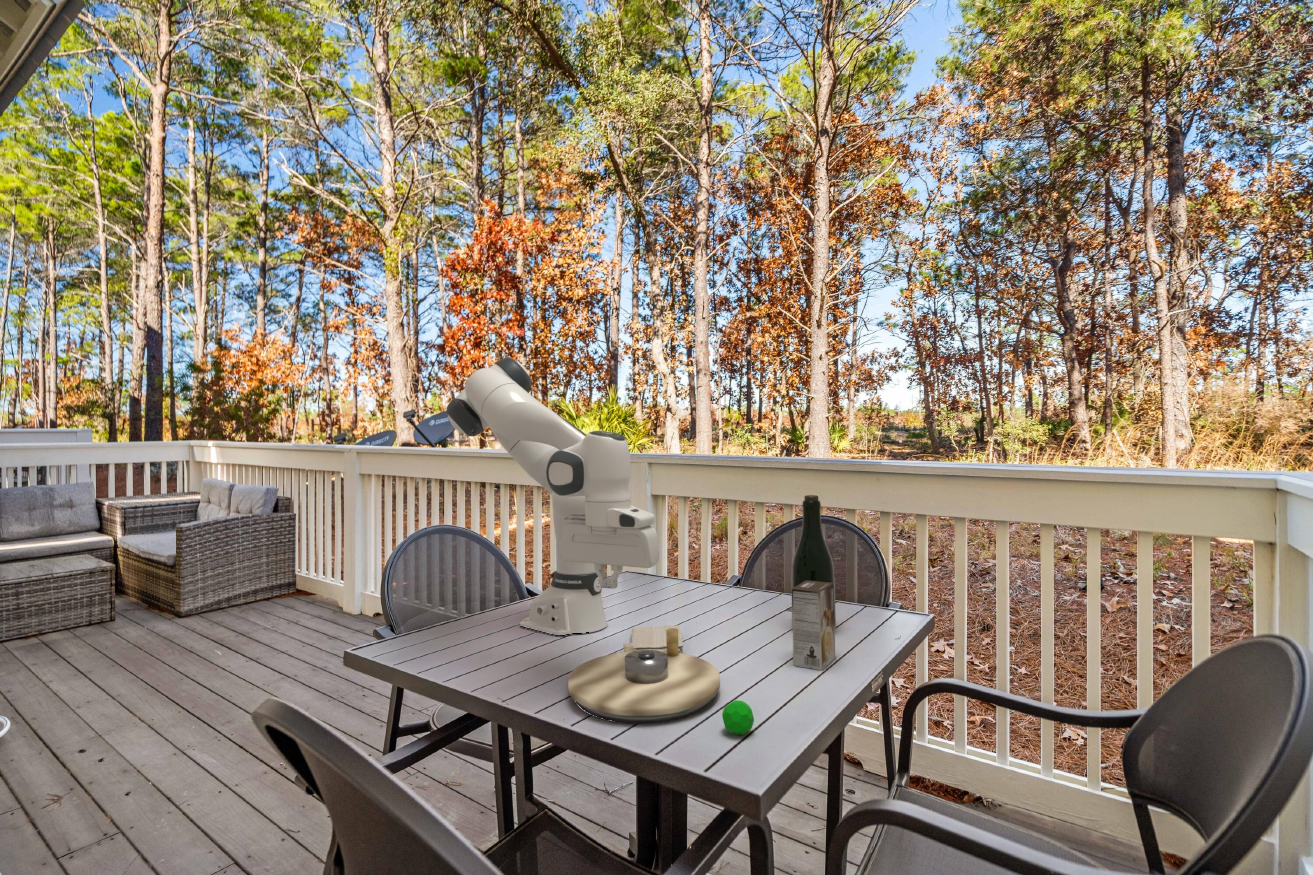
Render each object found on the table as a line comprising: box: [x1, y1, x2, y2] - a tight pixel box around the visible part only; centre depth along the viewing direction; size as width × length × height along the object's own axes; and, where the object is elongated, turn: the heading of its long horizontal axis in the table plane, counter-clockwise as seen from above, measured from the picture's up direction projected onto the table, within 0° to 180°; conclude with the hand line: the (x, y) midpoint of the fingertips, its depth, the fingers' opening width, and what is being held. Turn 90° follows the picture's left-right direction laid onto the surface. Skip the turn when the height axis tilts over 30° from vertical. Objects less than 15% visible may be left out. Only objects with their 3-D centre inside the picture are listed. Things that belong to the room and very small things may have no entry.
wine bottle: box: [791, 494, 837, 631], centre depth 153 cm, size 10×10×33 cm
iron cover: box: [625, 650, 668, 684], centre depth 116 cm, size 8×8×4 cm
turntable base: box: [575, 642, 716, 725], centre depth 117 cm, size 26×26×4 cm
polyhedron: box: [721, 700, 755, 736], centre depth 100 cm, size 5×5×5 cm
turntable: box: [567, 628, 721, 716], centre depth 117 cm, size 28×28×6 cm
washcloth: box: [630, 625, 684, 654], centre depth 144 cm, size 12×18×3 cm, turn 2°
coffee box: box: [791, 580, 836, 671], centre depth 131 cm, size 9×6×16 cm
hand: (608, 587), depth 120 cm, fingers closed
